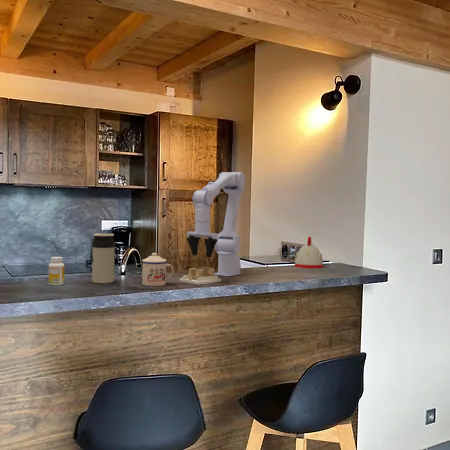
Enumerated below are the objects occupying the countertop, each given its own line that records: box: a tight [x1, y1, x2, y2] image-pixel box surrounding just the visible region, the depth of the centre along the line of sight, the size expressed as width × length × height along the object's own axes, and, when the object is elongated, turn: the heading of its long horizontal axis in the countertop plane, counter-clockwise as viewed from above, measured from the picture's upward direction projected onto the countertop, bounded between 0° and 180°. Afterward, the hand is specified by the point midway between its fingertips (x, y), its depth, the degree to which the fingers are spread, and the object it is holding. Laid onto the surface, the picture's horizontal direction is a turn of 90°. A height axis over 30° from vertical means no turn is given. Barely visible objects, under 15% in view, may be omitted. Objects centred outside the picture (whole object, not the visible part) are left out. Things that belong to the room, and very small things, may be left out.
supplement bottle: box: [48, 256, 65, 286], centre depth 177 cm, size 5×5×10 cm
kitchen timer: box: [294, 236, 324, 269], centre depth 246 cm, size 14×14×15 cm
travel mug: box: [91, 233, 116, 285], centre depth 184 cm, size 8×8×18 cm
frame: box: [188, 266, 215, 280], centre depth 192 cm, size 9×5×4 cm, turn 139°
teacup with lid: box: [141, 252, 174, 287], centre depth 182 cm, size 12×9×12 cm
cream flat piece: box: [178, 274, 222, 286], centre depth 191 cm, size 12×11×2 cm
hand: (201, 256), depth 191 cm, fingers open, 7 cm apart
